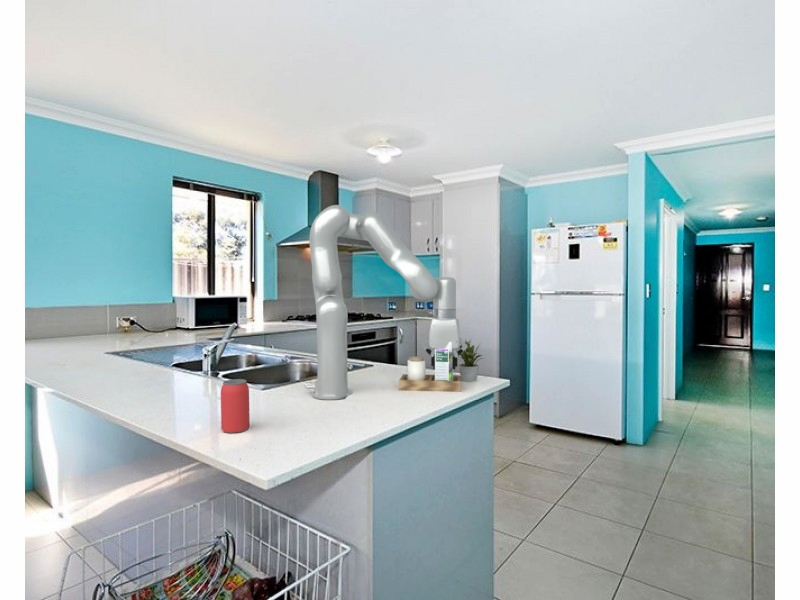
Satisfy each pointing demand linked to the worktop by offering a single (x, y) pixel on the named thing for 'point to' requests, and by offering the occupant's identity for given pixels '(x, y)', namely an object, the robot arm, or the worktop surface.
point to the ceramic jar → (416, 368)
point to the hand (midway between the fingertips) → (444, 368)
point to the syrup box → (444, 363)
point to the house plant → (469, 364)
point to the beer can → (235, 406)
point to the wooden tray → (430, 384)
